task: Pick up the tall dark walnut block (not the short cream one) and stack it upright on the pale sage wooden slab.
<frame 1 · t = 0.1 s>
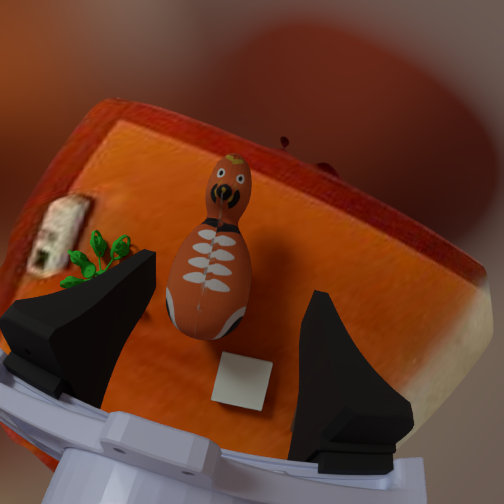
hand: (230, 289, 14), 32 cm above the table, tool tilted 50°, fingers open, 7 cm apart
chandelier: (107, 279, 46), on the table
sage slab: (241, 379, 43), on the table
toy: (220, 263, 47), on the table
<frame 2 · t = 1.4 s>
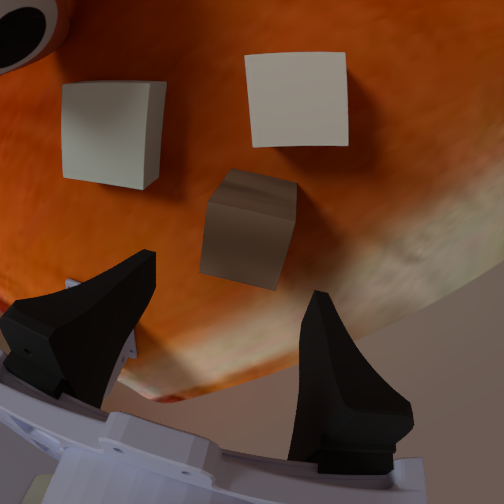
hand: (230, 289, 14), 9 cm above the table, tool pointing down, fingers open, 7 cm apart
cream block: (298, 95, 18), on the table
sage slab: (121, 125, 20), on the table
walnut block: (257, 205, 22), on the table
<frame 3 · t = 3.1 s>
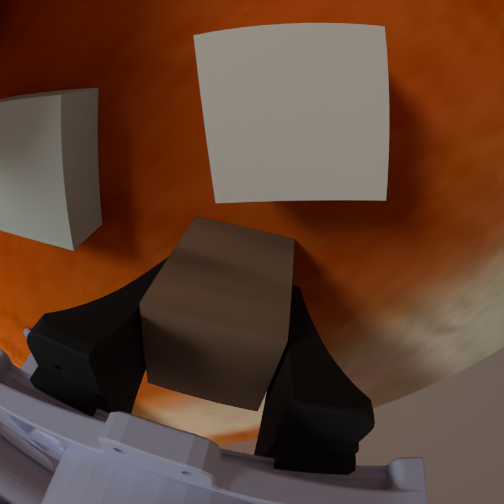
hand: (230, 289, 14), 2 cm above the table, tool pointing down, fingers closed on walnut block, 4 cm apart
cream block: (297, 103, 11), on the table
sage slab: (51, 154, 13), on the table
walnut block: (237, 268, 15), on the table, touching gripper
when the fingers open (6 cm above the table, at t = 6.2 s): walnut block drops 1 cm, resting on sage slab.
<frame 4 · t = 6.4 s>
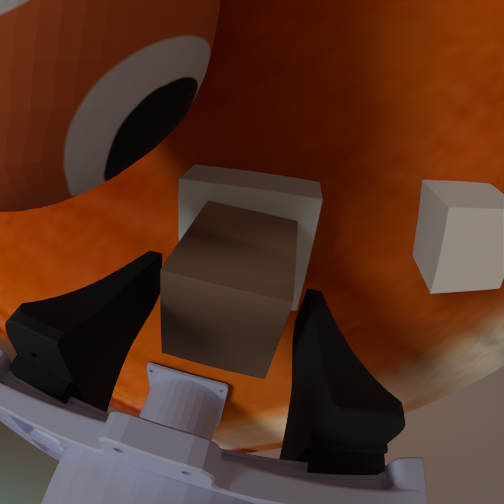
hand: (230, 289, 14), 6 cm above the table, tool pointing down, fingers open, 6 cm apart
cream block: (451, 218, 16), on the table
sage slab: (251, 225, 19), on the table, touching walnut block
walnut block: (244, 249, 16), point 3 cm above the table, touching sage slab
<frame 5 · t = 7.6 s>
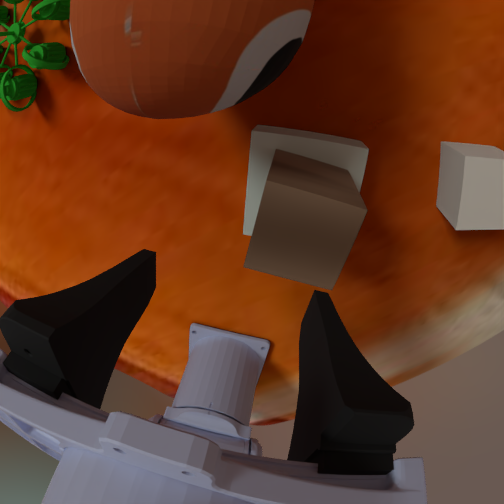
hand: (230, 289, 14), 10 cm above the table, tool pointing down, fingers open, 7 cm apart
cream block: (465, 175, 19), on the table
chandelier: (32, 32, 17), on the table
sage slab: (302, 178, 22), on the table, touching walnut block
walnut block: (302, 192, 19), point 3 cm above the table, touching sage slab
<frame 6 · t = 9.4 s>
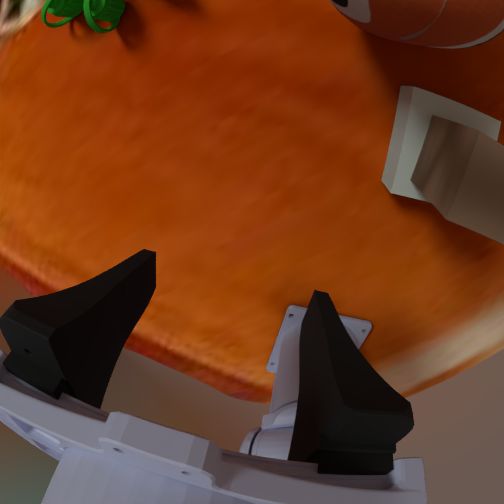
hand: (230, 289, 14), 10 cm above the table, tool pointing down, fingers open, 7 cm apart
sage slab: (433, 145, 19), on the table, touching walnut block
walnut block: (450, 160, 16), point 3 cm above the table, touching sage slab
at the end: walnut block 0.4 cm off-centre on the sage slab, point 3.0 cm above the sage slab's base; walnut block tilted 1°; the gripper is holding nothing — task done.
